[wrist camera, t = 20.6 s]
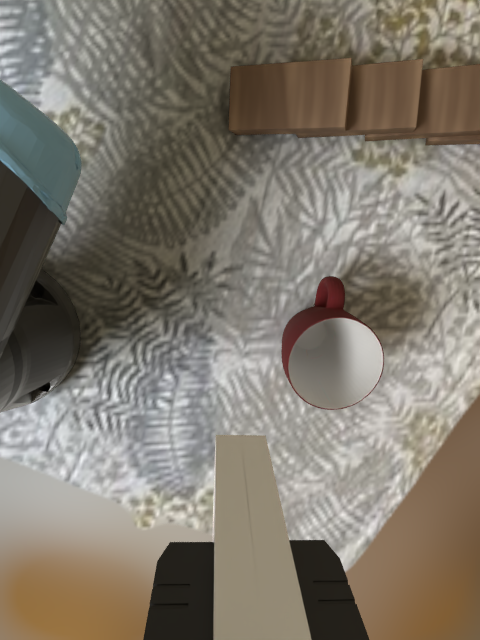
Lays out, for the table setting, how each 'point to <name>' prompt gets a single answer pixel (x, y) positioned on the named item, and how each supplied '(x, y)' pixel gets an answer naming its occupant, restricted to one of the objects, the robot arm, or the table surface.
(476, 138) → the domino
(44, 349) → the robot arm
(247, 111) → the domino
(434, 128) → the domino
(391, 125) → the domino
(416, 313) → the table surface
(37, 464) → the table surface
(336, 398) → the mug
